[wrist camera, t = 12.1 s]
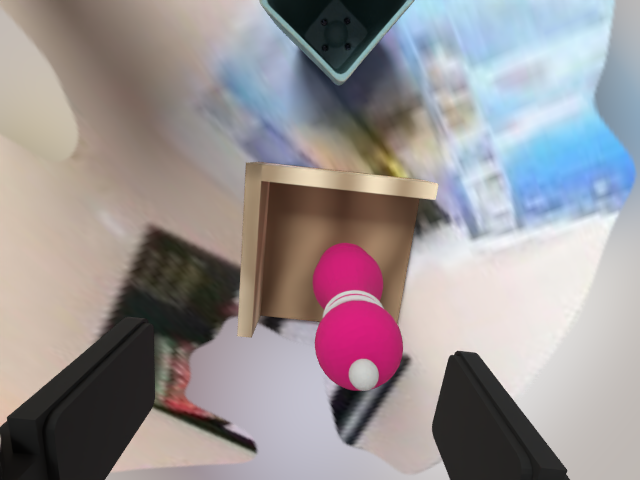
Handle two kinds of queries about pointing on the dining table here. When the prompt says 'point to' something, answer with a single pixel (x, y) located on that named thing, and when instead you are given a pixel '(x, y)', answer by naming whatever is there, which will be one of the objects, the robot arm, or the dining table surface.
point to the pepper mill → (354, 320)
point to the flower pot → (336, 29)
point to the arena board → (331, 243)
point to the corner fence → (257, 211)
